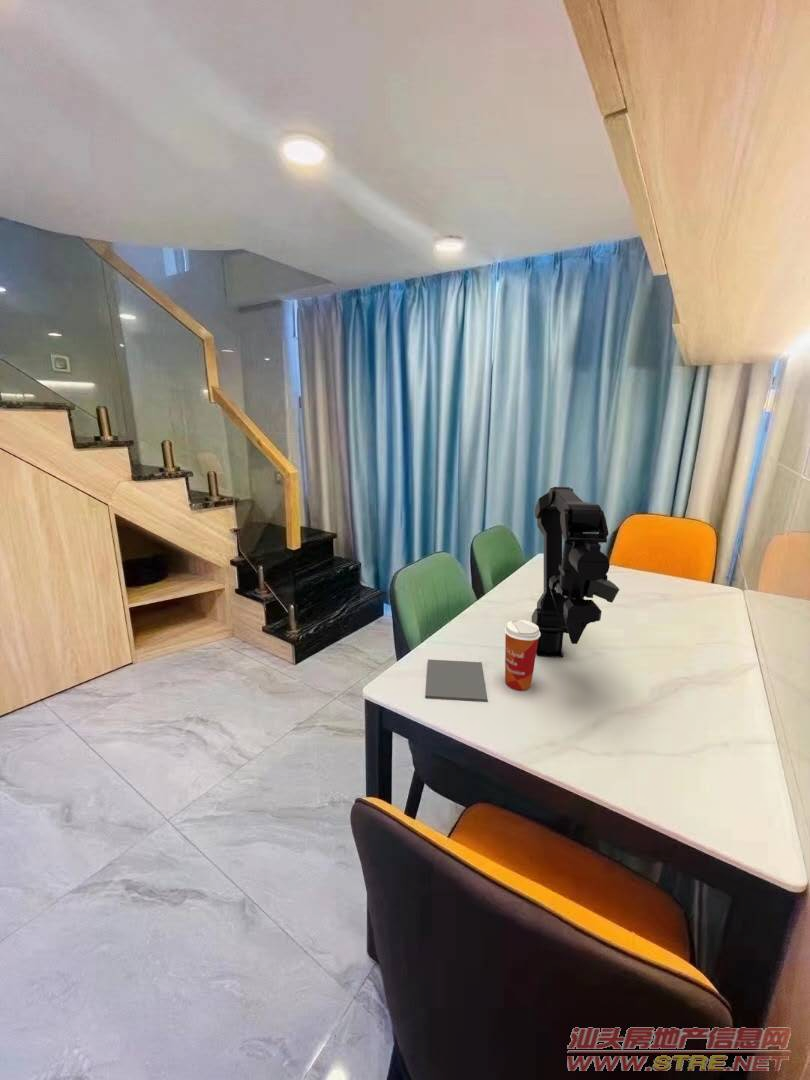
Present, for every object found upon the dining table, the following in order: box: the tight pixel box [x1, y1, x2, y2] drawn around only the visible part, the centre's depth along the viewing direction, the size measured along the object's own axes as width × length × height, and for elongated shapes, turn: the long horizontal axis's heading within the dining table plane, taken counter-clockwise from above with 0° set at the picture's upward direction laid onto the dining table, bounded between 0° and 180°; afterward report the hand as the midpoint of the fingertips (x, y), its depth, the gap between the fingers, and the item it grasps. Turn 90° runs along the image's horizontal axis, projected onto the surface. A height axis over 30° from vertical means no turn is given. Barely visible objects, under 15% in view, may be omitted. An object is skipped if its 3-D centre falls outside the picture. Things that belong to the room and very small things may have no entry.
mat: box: [425, 659, 488, 703], centre depth 100 cm, size 13×15×1 cm
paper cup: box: [503, 619, 541, 692], centre depth 97 cm, size 8×8×14 cm
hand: (568, 633), depth 95 cm, fingers open, 9 cm apart
